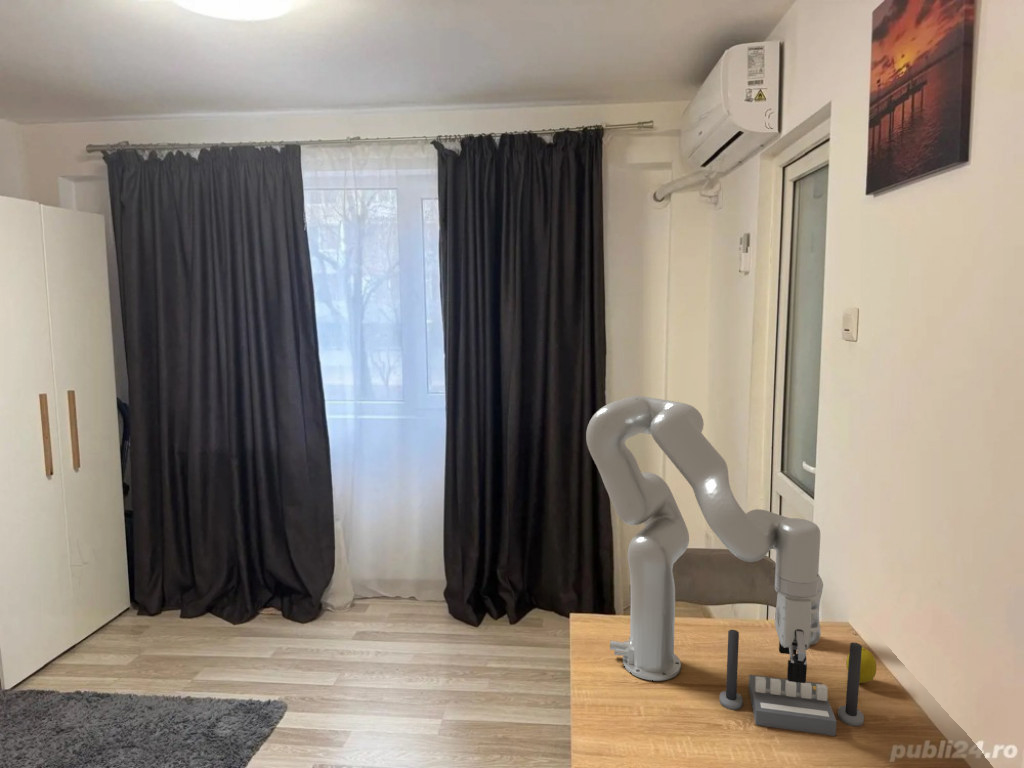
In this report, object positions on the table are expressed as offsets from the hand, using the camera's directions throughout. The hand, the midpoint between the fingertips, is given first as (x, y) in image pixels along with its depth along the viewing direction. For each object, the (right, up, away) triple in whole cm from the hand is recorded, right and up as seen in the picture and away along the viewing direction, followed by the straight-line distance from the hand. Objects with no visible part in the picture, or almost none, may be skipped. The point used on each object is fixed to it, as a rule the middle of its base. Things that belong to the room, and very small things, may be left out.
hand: (791, 666), depth 125 cm
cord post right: (+11, -9, -1) cm, 14 cm away
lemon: (+19, -8, +10) cm, 23 cm away
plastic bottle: (+15, -6, +26) cm, 31 cm away
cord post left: (-11, -9, +4) cm, 14 cm away
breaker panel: (0, -9, +1) cm, 9 cm away
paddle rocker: (0, -6, +1) cm, 6 cm away
